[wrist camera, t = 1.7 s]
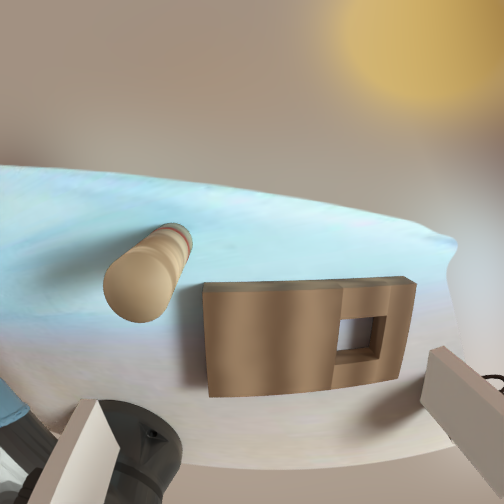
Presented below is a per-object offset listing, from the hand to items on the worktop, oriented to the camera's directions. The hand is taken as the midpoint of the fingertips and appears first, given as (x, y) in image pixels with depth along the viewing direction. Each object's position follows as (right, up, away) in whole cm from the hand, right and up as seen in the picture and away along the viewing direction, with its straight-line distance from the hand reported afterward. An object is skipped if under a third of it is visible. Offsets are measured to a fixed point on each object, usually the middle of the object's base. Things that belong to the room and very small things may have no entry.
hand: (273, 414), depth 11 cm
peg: (-8, +7, +20) cm, 23 cm away
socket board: (+5, -3, +23) cm, 24 cm away
